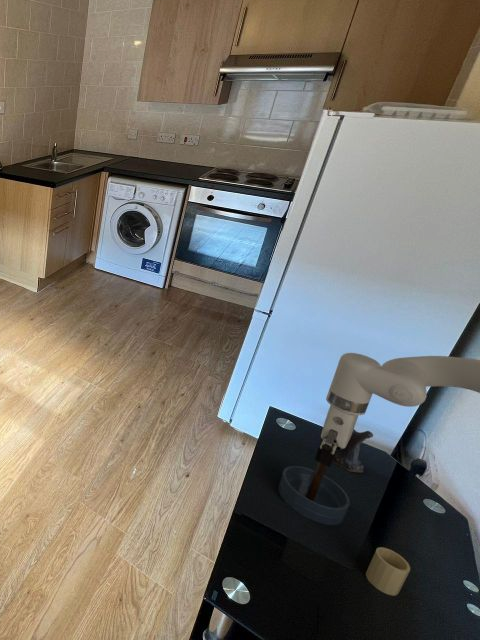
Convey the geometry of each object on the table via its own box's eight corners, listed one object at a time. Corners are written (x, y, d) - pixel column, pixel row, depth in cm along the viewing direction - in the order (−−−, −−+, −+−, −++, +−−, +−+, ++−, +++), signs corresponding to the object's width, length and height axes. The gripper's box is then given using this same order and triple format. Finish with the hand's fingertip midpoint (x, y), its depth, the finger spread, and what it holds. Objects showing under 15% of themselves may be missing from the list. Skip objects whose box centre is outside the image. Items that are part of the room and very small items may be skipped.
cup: (383, 573, 95) (395, 548, 92) (404, 599, 90) (417, 573, 87) (358, 570, 95) (369, 545, 93) (377, 595, 90) (390, 569, 88)
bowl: (318, 484, 119) (324, 468, 117) (357, 530, 105) (364, 512, 103) (267, 479, 120) (272, 463, 118) (298, 523, 107) (304, 505, 105)
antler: (364, 466, 126) (392, 398, 118) (361, 479, 121) (389, 410, 113) (317, 444, 134) (340, 380, 127) (312, 456, 129) (336, 390, 122)
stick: (310, 498, 113) (331, 441, 107) (314, 504, 112) (336, 446, 106) (303, 497, 113) (324, 440, 107) (307, 503, 112) (329, 445, 106)
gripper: (359, 422, 94) (337, 480, 100) (373, 395, 105) (352, 448, 110) (319, 406, 100) (300, 460, 105) (336, 381, 110) (318, 432, 115)
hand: (327, 454), depth 107 cm, fingers open, 9 cm apart
